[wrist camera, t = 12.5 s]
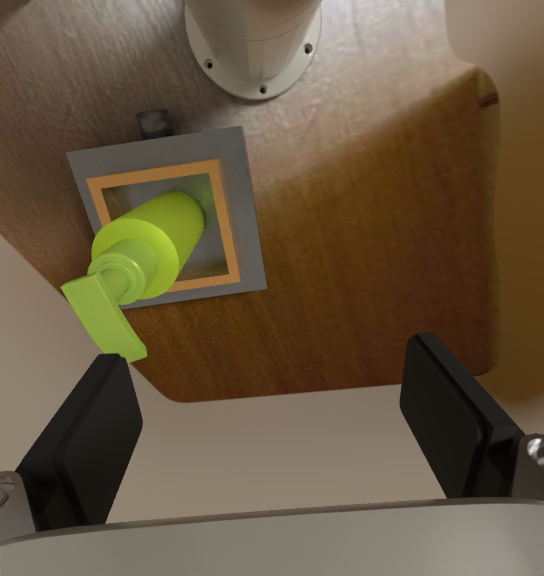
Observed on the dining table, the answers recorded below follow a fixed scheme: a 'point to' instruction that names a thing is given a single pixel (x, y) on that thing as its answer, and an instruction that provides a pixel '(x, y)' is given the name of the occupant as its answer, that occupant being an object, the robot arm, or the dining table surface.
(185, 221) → the green pump bottle
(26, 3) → the dining table surface
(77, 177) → the bottle holder tray
